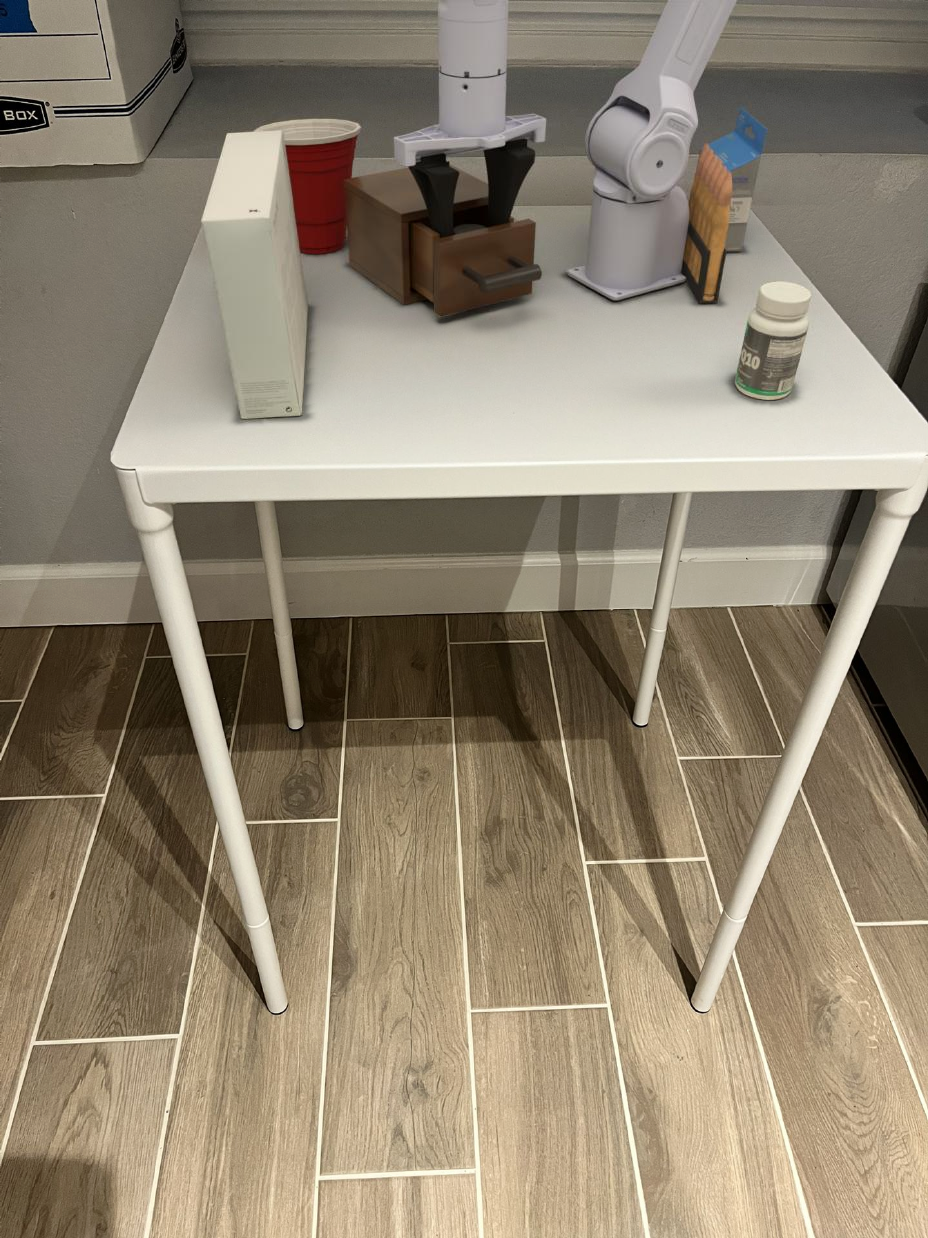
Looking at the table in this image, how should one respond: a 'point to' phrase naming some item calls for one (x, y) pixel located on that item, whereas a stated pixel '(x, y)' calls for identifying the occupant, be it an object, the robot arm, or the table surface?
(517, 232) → the drawer
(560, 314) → the table surface
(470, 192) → the cabinet
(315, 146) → the plastic cup
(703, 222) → the ammunition clip
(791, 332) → the pill bottle
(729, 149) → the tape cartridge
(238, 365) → the skincare box
